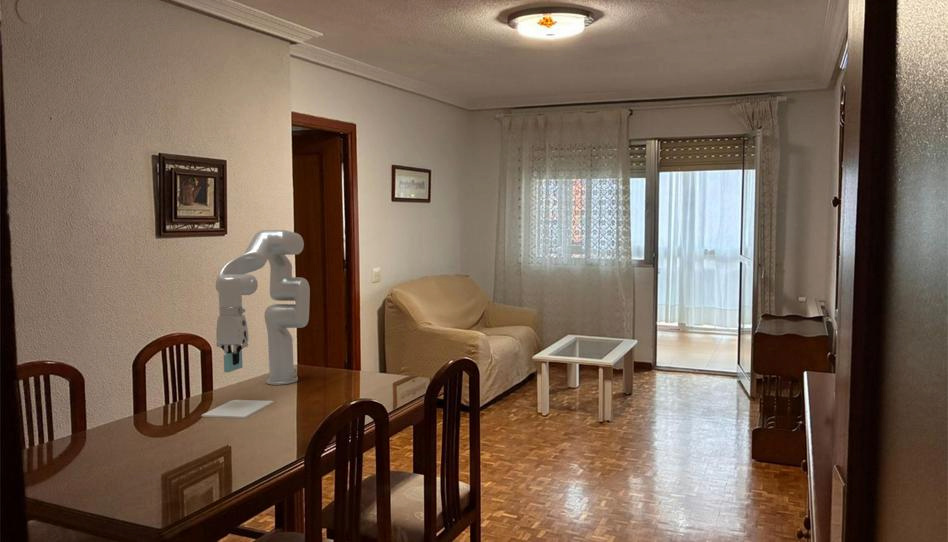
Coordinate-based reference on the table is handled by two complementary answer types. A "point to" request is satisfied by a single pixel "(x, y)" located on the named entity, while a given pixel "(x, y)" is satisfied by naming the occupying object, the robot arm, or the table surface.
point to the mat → (237, 409)
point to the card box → (231, 362)
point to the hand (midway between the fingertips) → (233, 363)
